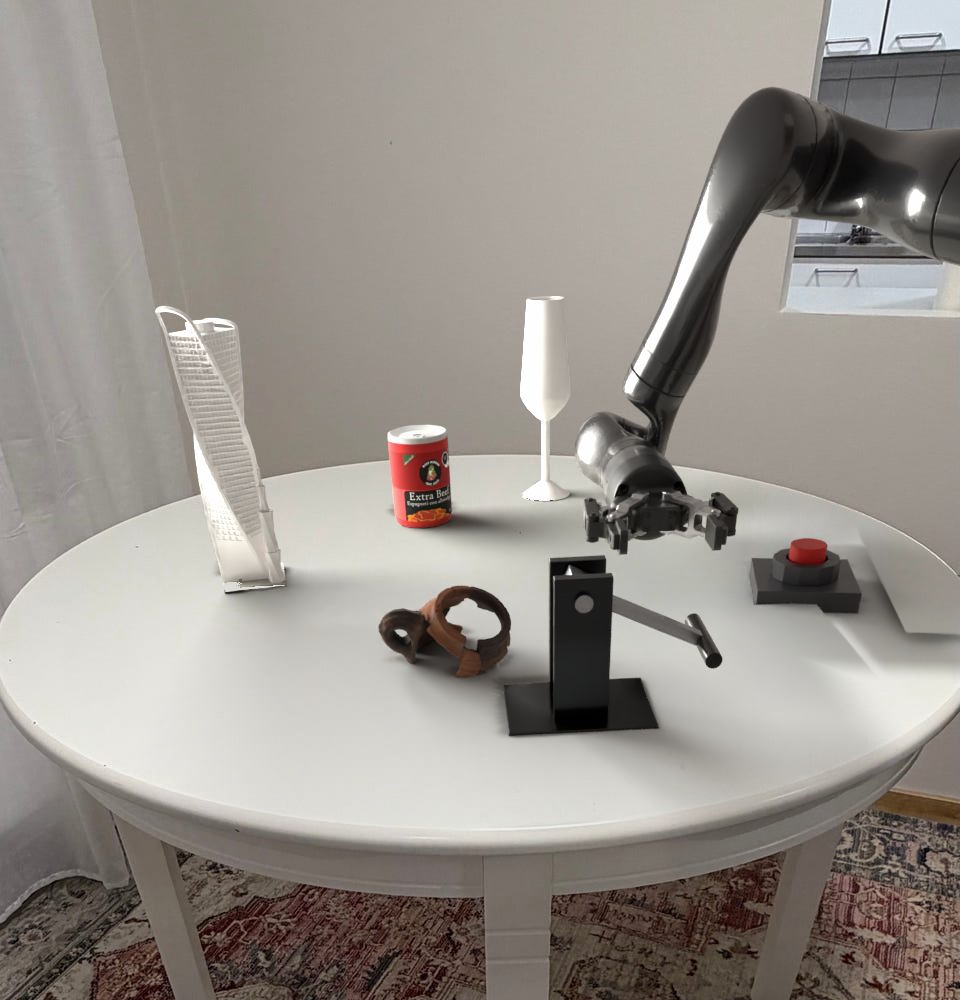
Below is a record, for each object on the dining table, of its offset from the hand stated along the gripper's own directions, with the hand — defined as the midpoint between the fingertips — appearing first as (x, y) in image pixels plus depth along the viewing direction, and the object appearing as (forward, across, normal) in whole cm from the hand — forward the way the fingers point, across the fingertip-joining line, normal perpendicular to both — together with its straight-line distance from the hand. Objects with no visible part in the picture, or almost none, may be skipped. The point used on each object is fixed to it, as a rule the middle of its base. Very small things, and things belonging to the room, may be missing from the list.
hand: (671, 541), depth 86 cm
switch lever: (+14, -6, +2) cm, 15 cm away
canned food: (-44, -24, +10) cm, 51 cm away
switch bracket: (+14, -10, +10) cm, 20 cm away
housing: (-10, +16, +10) cm, 22 cm away
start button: (-10, +16, +6) cm, 20 cm away
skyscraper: (-24, -44, +10) cm, 51 cm away
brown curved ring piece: (+3, -21, +10) cm, 23 cm away
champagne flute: (-52, -7, +10) cm, 54 cm away
